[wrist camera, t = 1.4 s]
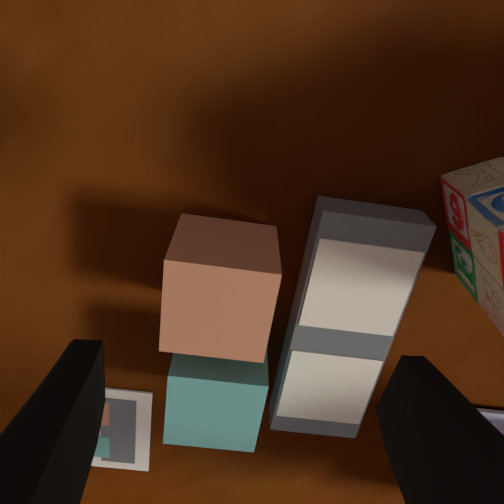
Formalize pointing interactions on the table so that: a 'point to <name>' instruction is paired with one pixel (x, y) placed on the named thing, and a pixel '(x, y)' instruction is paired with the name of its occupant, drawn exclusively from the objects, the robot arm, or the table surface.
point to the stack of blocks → (478, 232)
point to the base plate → (345, 313)
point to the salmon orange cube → (220, 288)
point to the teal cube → (215, 402)
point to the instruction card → (125, 430)
